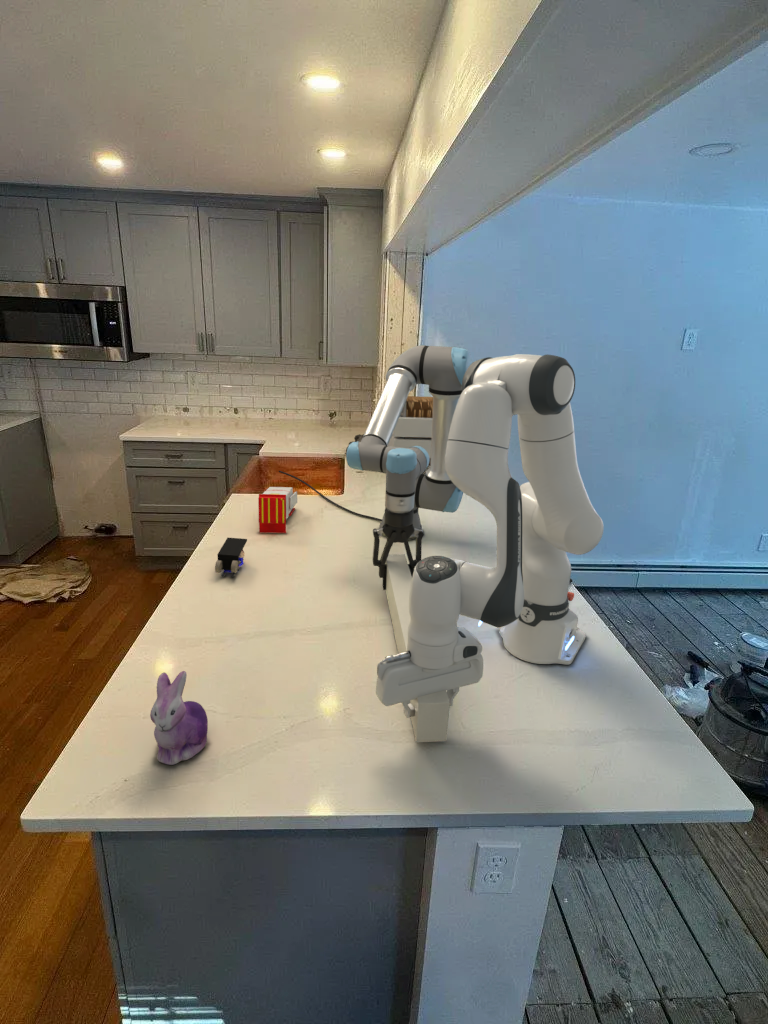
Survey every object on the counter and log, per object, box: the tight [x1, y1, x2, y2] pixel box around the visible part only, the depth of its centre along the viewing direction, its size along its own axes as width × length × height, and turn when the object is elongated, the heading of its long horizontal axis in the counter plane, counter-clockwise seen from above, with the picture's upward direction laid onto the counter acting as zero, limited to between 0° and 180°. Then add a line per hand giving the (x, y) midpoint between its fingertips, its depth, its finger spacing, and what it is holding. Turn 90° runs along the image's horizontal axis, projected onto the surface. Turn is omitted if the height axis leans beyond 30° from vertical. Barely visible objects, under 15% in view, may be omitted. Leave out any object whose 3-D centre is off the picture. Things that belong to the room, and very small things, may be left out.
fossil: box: [345, 433, 364, 455], centre depth 306 cm, size 22×10×15 cm
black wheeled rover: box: [214, 537, 248, 578], centre depth 166 cm, size 7×8×15 cm
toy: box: [257, 486, 298, 534], centre depth 206 cm, size 12×13×30 cm
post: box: [385, 553, 451, 743], centre depth 129 cm, size 62×6×8 cm, turn 5°
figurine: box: [149, 670, 209, 766], centre depth 98 cm, size 9×10×15 cm
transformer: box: [388, 395, 433, 467], centre depth 268 cm, size 34×33×41 cm
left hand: (395, 587), depth 155 cm, fingers closed on post, 6 cm apart
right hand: (428, 709), depth 105 cm, fingers closed on post, 6 cm apart
